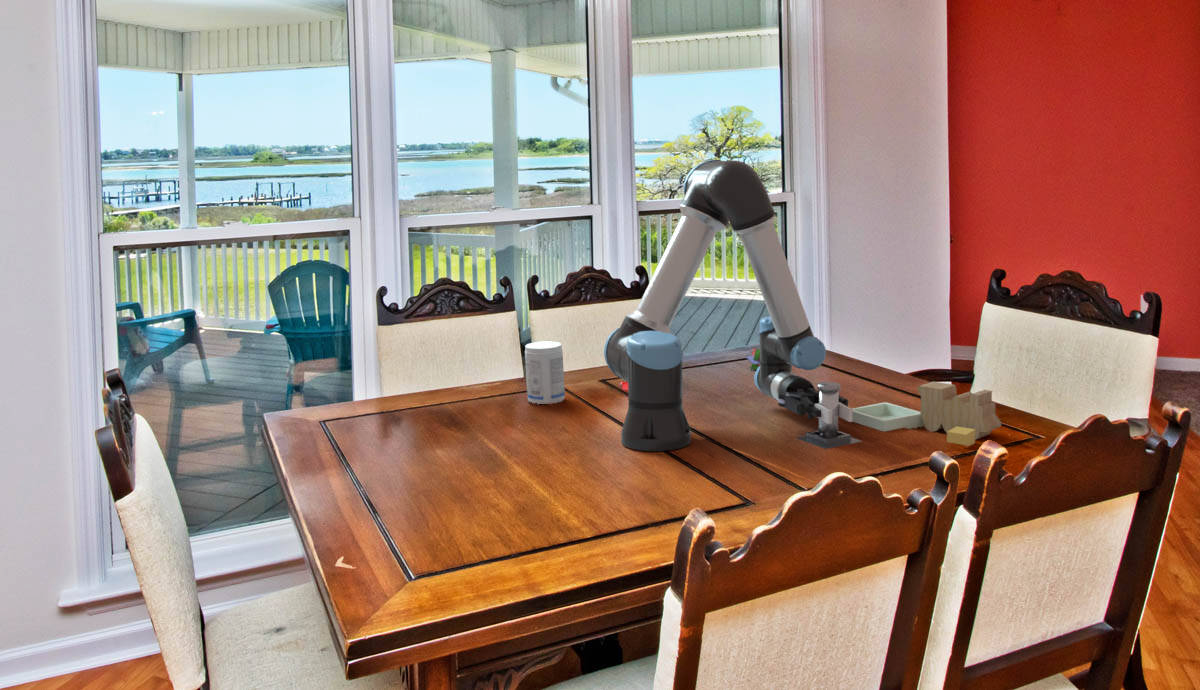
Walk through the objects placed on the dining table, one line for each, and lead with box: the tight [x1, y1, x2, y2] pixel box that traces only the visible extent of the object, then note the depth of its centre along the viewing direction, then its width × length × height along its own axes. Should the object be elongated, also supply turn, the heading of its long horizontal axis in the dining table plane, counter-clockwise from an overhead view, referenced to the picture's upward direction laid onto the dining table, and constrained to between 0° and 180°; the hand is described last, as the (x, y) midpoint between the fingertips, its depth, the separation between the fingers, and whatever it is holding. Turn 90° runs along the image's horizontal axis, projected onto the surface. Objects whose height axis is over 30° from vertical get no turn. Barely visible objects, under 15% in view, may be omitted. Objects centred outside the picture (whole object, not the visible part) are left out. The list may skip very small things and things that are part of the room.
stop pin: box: [816, 381, 842, 438], centre depth 214 cm, size 5×5×12 cm
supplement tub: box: [524, 340, 566, 405], centre depth 257 cm, size 10×10×15 cm
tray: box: [851, 401, 924, 432], centre depth 228 cm, size 12×12×3 cm
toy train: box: [916, 381, 1002, 441], centre depth 220 cm, size 6×17×10 cm, turn 40°
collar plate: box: [794, 429, 863, 450], centre depth 215 cm, size 10×10×2 cm
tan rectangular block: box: [946, 426, 976, 447], centre depth 212 cm, size 5×4×3 cm
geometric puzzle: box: [744, 346, 760, 371], centre depth 287 cm, size 7×7×8 cm
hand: (840, 416), depth 209 cm, fingers closed on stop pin, 4 cm apart
